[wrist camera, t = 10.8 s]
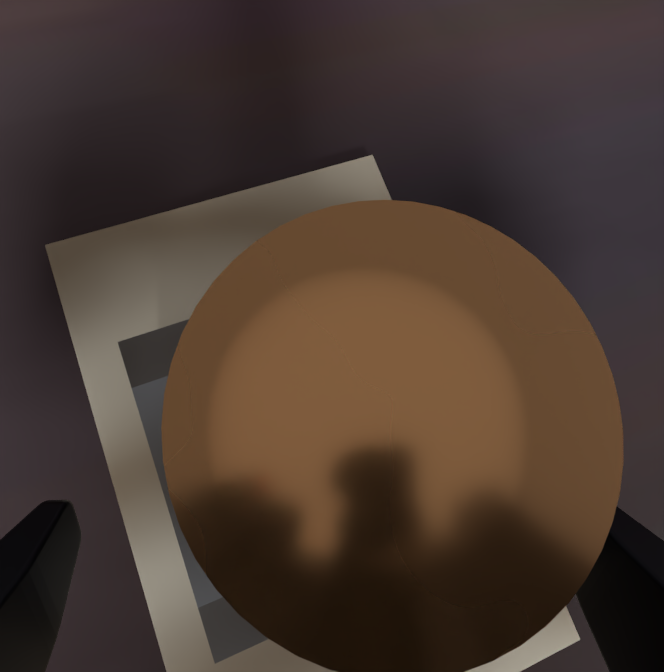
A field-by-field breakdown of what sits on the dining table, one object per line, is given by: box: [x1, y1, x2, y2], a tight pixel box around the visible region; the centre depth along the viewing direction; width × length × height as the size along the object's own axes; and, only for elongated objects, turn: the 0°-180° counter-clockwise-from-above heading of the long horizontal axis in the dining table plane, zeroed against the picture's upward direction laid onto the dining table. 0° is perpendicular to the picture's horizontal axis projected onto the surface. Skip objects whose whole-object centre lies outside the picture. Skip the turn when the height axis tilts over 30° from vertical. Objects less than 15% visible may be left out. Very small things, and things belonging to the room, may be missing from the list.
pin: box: [161, 200, 623, 672], centre depth 10 cm, size 4×4×12 cm
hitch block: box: [45, 155, 580, 672], centre depth 14 cm, size 18×12×5 cm, turn 21°
